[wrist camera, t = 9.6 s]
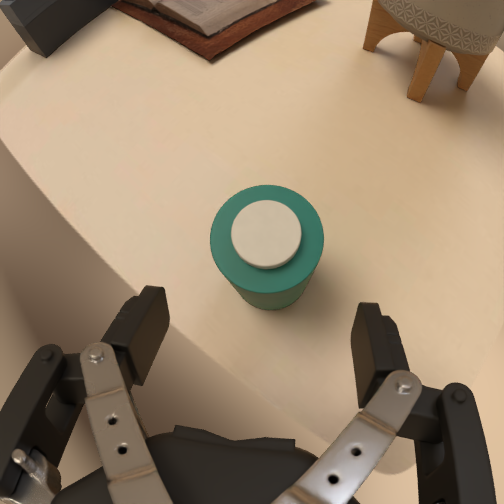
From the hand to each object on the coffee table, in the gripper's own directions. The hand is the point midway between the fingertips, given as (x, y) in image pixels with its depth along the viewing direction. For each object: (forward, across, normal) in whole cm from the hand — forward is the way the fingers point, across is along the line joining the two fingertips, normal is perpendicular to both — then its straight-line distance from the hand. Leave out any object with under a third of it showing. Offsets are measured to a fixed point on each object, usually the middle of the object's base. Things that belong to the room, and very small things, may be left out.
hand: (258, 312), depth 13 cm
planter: (+27, -15, -13) cm, 33 cm away
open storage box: (+37, +35, -23) cm, 56 cm away
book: (+37, +12, -23) cm, 45 cm away
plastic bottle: (+10, 0, +4) cm, 10 cm away
